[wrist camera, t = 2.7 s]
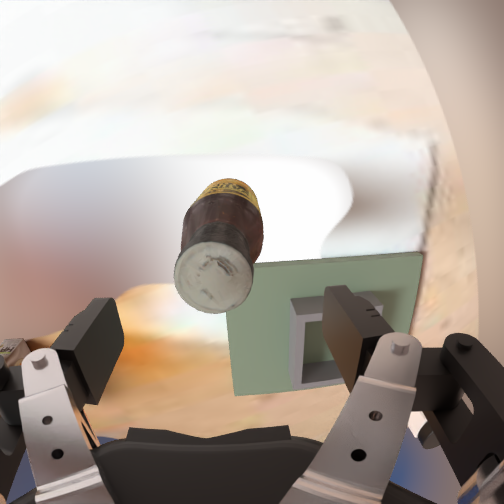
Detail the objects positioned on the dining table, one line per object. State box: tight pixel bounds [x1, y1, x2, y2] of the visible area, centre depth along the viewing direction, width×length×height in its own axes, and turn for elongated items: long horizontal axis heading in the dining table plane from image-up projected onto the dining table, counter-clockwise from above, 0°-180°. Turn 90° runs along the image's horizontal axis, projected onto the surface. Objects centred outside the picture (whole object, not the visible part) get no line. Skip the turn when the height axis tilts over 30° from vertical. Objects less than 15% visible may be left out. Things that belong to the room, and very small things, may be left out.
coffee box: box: [0, 338, 31, 418], centre depth 32 cm, size 9×6×16 cm
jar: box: [408, 411, 440, 449], centre depth 41 cm, size 9×8×12 cm
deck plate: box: [226, 252, 423, 396], centre depth 37 cm, size 26×20×6 cm
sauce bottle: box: [174, 178, 264, 314], centre depth 24 cm, size 7×6×20 cm
